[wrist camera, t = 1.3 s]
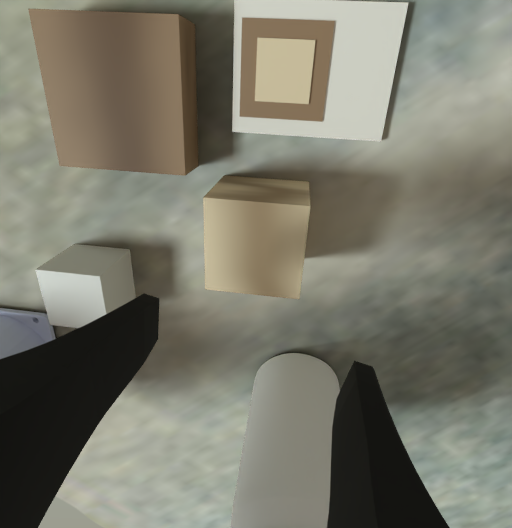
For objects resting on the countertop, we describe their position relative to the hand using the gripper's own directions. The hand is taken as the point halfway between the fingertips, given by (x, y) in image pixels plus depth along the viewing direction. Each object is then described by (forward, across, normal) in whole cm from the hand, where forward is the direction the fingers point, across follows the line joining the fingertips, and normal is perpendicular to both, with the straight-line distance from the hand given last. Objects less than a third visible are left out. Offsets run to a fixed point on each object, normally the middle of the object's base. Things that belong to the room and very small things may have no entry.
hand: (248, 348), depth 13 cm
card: (+12, +1, -8) cm, 14 cm away
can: (+10, -3, +12) cm, 16 cm away
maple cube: (+11, +2, 0) cm, 11 cm away
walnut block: (+10, +10, -5) cm, 16 cm away
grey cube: (+9, +12, +6) cm, 16 cm away
